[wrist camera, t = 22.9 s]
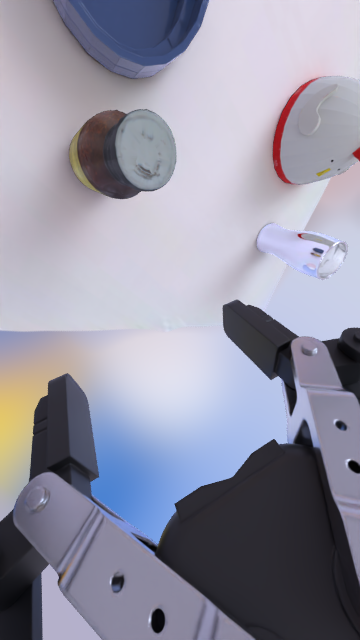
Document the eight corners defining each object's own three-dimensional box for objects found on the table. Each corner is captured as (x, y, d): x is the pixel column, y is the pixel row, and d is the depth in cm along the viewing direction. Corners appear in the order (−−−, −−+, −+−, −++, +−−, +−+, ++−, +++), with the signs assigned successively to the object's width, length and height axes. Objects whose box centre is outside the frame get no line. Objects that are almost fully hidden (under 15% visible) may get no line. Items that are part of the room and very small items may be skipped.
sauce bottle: (97, 200, 30) (139, 237, 16) (56, 155, 26) (60, 148, 11) (131, 166, 30) (206, 170, 15) (94, 113, 25) (149, 51, 11)
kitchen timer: (259, 159, 37) (346, 159, 26) (310, 53, 32) (445, -3, 21) (300, 196, 45) (380, 208, 34) (346, 116, 40) (458, 99, 29)
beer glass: (285, 226, 47) (355, 246, 37) (269, 257, 50) (329, 284, 39) (266, 215, 44) (337, 234, 33) (249, 249, 47) (309, 276, 36)
